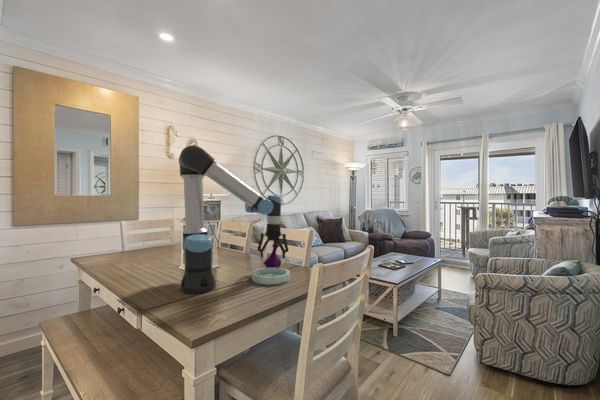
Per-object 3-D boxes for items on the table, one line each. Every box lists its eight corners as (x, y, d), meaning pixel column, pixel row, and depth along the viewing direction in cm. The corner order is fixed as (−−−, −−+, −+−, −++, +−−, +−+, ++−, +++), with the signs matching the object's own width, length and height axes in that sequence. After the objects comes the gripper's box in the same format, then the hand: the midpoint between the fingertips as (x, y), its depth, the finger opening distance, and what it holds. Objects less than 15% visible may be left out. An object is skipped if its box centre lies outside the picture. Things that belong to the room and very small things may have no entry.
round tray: (248, 284, 137) (248, 276, 137) (256, 273, 155) (256, 266, 155) (286, 285, 135) (286, 277, 135) (291, 274, 154) (291, 267, 154)
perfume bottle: (282, 268, 161) (283, 235, 161) (274, 271, 154) (275, 237, 154) (271, 266, 165) (272, 234, 164) (263, 269, 158) (264, 236, 158)
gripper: (252, 223, 156) (251, 264, 156) (293, 224, 154) (292, 266, 154) (255, 222, 163) (254, 261, 164) (294, 223, 162) (293, 263, 162)
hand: (272, 264), depth 159 cm, fingers closed on perfume bottle, 9 cm apart
